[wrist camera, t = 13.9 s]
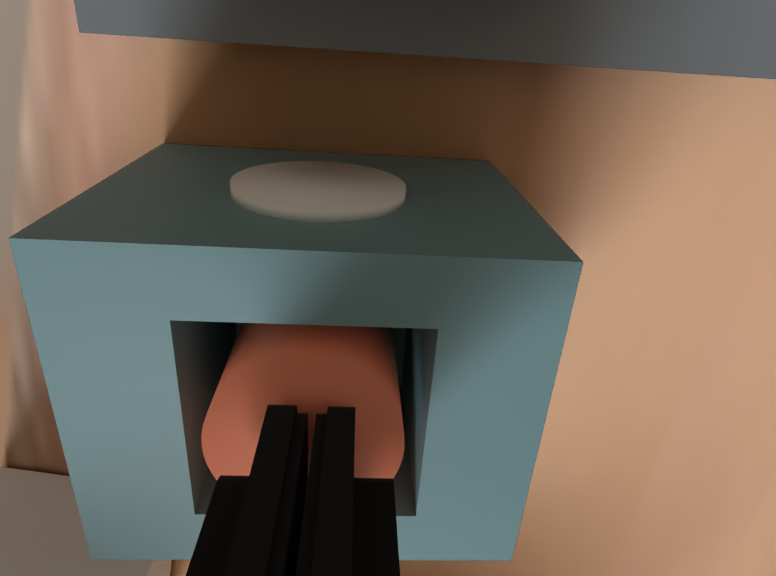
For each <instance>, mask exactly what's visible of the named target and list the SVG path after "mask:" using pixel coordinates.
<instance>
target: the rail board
mask: <svg viewBox="0 0 776 576" xmlns="http://www.w3.org/2000/svg"><path fill="white" fill-rule="evenodd" d="M74 3H75V9H76V15H77V21H78V27H79V32H80V33H95V34H110V35H125V36H140V37H155V38H170V39H185V40H199V41H214V42H229V43H244V44H259V45H274V46H289V47H303V48H318V49H333V50H348V51H363V52H378V53H393V54H408V55H422V56H437V57H452V58H467V59H482V60H497V61H512V62H527V63H541V64H556V65H571V66H586V67H601V68H616V69H631V70H645V71H660V72H675V73H690V74H705V75H720V76H735V77H750V78H764V79H776V0H74Z"/></svg>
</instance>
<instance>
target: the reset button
mask: <svg viewBox="0 0 776 576" xmlns="http://www.w3.org/2000/svg"><path fill="white" fill-rule="evenodd" d="M268 405H297V409H298V413H307V414H308V474H309V466H310V458H311V450H312V443H313V435H314V427H315V419H316V414H327V408H328V406H339V407H356V411H355V453H354V478H392V479H393V478H394V477H395V475H396V473H397V471H398V469H399V467H400V464H401V462H402V459H403V454H404V429H403V420H402V411H401V401H400V392H399V382H398V373H397V363H396V354H395V344H394V335H393V328H390V327H359V326H328V325H297V324H267V323H242V325H241V328H240V330H239V333H238V335H237V338H236V340H235V343H234V346H233V348H232V351H231V353H230V356H229V358H228V361H227V363H226V366H225V368H224V371H223V373H222V376H221V379H220V381H219V384H218V386H217V389H216V391H215V394H214V396H213V399H212V401H211V404H210V407H209V409H208V412H207V414H206V417H205V420H204V423H203V428H202V434H201V441H202V450H203V455H204V458H205V461H206V463H207V466H208V468H209V469H210V471H211V473H212V475H213V476H214V477H215V479H216V480H218V478H219V477H220V475H231V476H249V475H250V471H251V467H252V463H253V459H254V456H255V452H256V448H257V444H258V440H259V436H260V432H261V428H262V424H263V421H264V417H265V413H266V409H267V406H268Z"/></svg>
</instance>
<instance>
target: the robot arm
mask: <svg viewBox="0 0 776 576" xmlns="http://www.w3.org/2000/svg"><path fill="white" fill-rule="evenodd" d="M355 411H356V407H339V406H328V408H327V414H316V419H315V427H314V435H313V443H312V450H311V458H310V466H309V474H308V414H307V413H298V409H297V405H268V406H267V409H266V413H265V417H264V421H263V424H262V428H261V432H260V436H259V440H258V444H257V448H256V452H255V456H254V459H253V463H252V467H251V471H250V475H249V476H231V475H220V477H219V478H218V480H217V482H216V485H215V488H214V491H213V494H212V497H211V500H210V503H209V506H208V509H207V512H206V515H205V518H204V521H203V524H202V528H201V531H200V534H199V537H198V540H197V543H196V546H195V549H194V552H193V555H192V558H191V561H190V564H189V567H188V570H187V574H186V576H400V567H399V552H398V536H397V520H396V505H395V489H394V481H393V479H392V478H354V453H355Z"/></svg>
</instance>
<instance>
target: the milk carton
mask: <svg viewBox="0 0 776 576" xmlns="http://www.w3.org/2000/svg"><path fill="white" fill-rule="evenodd" d="M171 564H172V560H115V559H91V557H90V553H89V549H88V545H87V541H86V537H85V533H84V529H83V526H82V522H81V518H80V514H79V510H78V506H77V502H76V498H75V495H74V491H73V487H72V483H71V479H70V476H64V475H57V474H50V473H43V472H35V471H28V470H21V469H13V468H5V467H0V576H170V572H171Z"/></svg>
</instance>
